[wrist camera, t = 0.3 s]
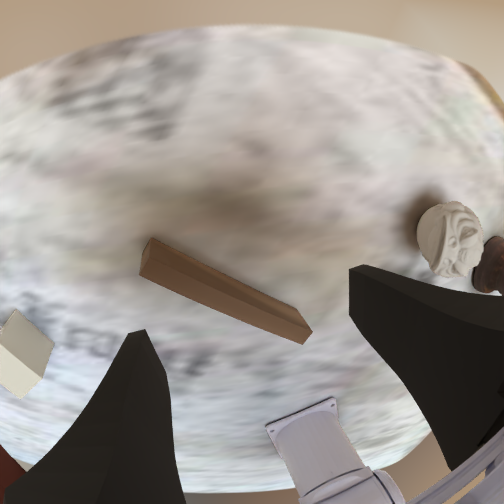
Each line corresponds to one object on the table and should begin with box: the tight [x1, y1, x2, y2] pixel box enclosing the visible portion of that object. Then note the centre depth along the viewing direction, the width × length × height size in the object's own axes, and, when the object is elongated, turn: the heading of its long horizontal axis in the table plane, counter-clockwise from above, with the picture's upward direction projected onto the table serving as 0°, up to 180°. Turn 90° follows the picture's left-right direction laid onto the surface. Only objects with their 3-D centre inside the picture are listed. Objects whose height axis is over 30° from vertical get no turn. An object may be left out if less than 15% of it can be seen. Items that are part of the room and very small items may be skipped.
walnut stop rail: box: [139, 238, 313, 345], centre depth 19 cm, size 1×12×3 cm, turn 56°
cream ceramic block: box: [0, 309, 54, 399], centre depth 16 cm, size 4×4×4 cm
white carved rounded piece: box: [417, 201, 484, 278], centre depth 21 cm, size 6×7×7 cm
